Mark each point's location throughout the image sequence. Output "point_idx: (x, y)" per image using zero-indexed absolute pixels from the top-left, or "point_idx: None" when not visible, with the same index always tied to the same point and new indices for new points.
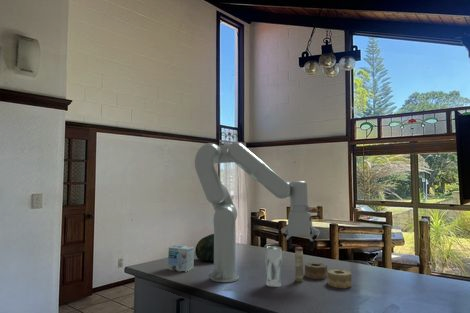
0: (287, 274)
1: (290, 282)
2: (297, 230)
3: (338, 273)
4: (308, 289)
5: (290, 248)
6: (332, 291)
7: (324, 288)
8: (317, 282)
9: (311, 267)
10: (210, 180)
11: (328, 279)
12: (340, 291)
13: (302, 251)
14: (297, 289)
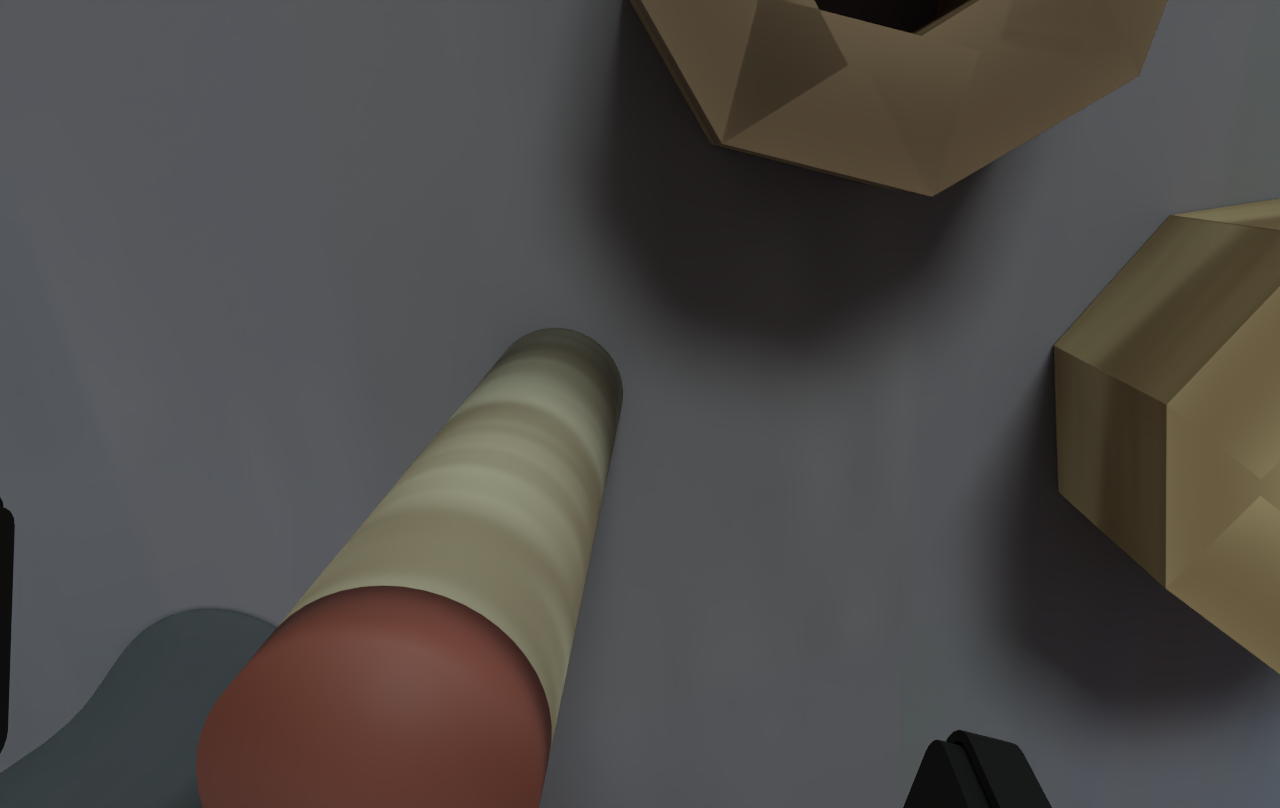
0: (264, 4)
1: None
2: None
3: None
4: (740, 757)
5: (9, 661)
6: (1079, 752)
7: (973, 656)
8: (873, 380)
9: (790, 158)
10: None
11: (1096, 490)
12: (1198, 724)
13: (552, 739)
14: (590, 795)
